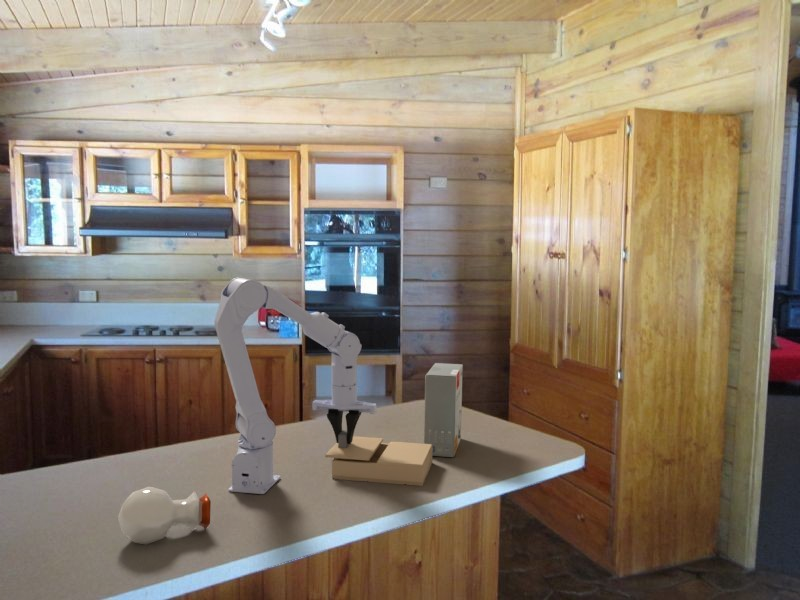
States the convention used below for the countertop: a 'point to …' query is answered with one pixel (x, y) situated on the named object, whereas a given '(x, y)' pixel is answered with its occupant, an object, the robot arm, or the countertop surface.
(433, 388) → the hard drive box
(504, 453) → the countertop surface
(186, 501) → the potion bottle
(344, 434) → the lid flap
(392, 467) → the carton
